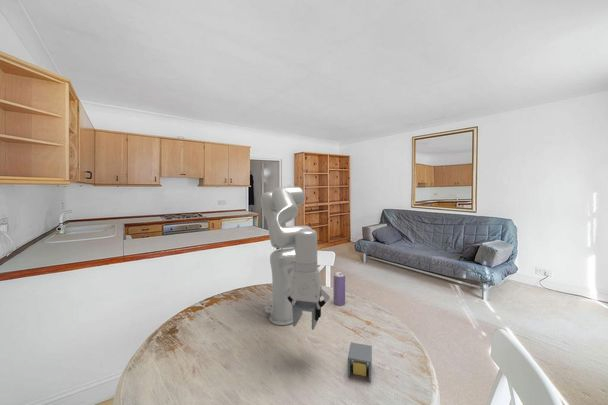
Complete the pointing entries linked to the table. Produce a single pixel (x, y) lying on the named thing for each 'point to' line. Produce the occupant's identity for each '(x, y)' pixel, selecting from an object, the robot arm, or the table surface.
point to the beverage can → (339, 288)
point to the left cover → (304, 306)
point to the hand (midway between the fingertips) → (306, 316)
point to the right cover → (360, 356)
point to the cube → (359, 368)
